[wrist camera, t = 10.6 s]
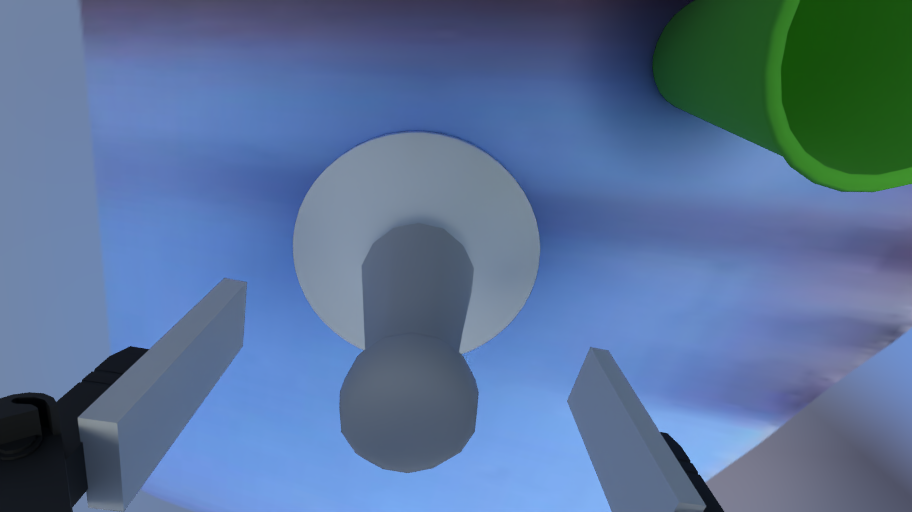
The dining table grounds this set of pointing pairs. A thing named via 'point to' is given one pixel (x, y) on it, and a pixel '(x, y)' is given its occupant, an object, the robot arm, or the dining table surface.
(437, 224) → the ceramic plate
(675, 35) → the cup
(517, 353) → the dining table surface
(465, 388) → the salt shaker
